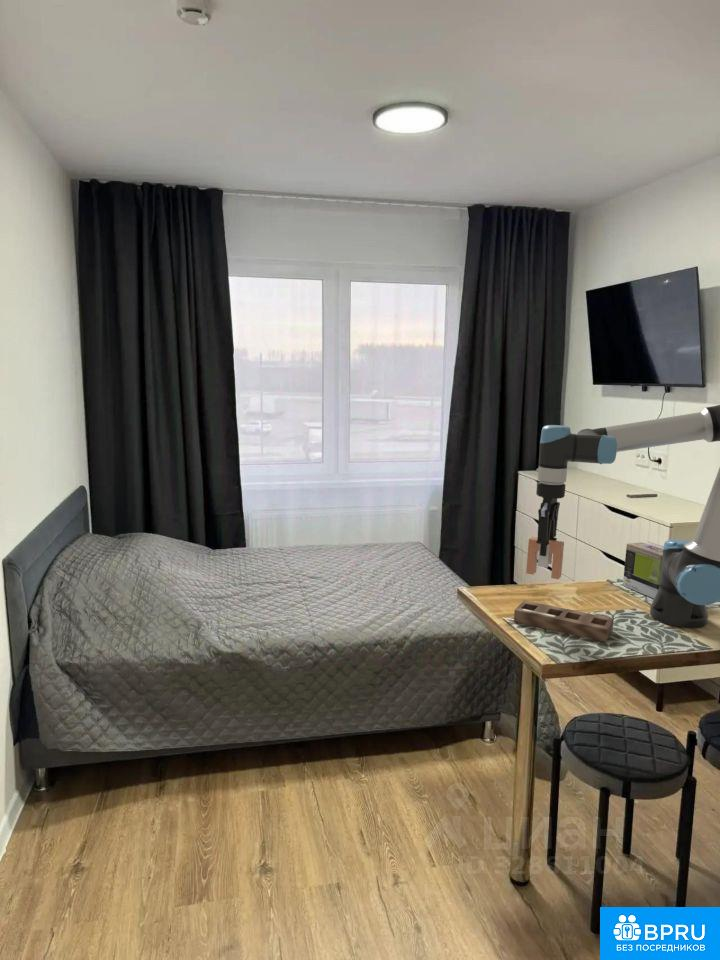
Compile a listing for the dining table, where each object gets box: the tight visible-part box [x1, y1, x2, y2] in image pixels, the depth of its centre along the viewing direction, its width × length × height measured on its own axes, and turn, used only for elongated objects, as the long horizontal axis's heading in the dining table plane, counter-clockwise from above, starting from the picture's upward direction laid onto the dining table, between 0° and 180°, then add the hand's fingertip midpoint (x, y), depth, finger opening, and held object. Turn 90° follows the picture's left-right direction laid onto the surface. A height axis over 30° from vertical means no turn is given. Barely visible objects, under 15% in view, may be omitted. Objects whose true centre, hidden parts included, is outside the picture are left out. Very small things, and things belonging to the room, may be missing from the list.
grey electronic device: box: [622, 541, 664, 599], centre depth 213 cm, size 15×10×15 cm
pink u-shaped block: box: [525, 536, 565, 580], centre depth 184 cm, size 9×3×10 cm, turn 59°
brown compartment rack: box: [513, 600, 615, 643], centre depth 184 cm, size 25×9×4 cm, turn 59°
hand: (544, 564), depth 185 cm, fingers closed on pink u-shaped block, 3 cm apart
